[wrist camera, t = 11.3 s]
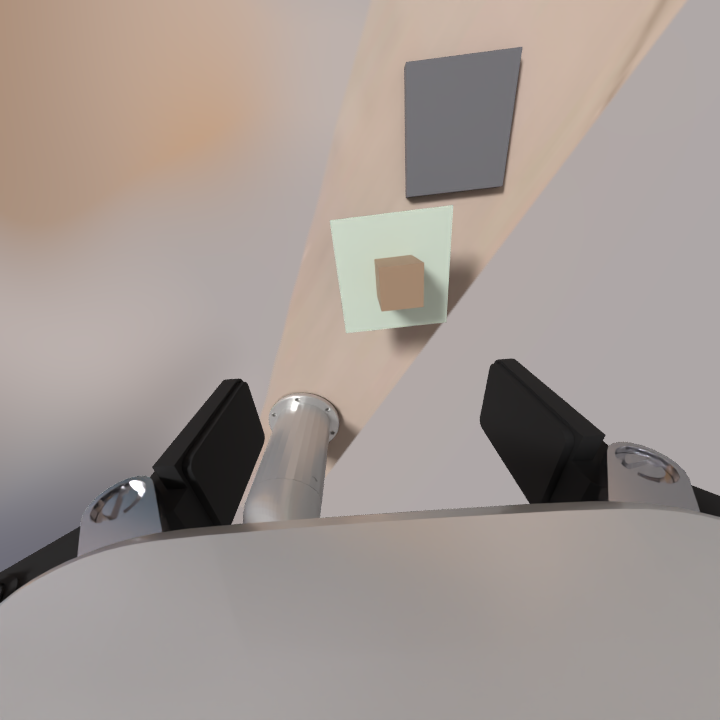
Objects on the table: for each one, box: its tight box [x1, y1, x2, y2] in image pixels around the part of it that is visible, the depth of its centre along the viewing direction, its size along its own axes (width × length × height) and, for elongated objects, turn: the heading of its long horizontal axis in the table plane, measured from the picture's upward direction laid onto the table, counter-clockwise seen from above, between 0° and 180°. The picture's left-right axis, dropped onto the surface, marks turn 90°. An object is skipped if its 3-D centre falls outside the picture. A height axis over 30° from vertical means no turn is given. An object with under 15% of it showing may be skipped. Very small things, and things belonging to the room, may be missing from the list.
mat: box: [404, 47, 522, 198], centre depth 28 cm, size 11×11×1 cm
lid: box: [330, 205, 453, 333], centre depth 24 cm, size 11×11×6 cm
